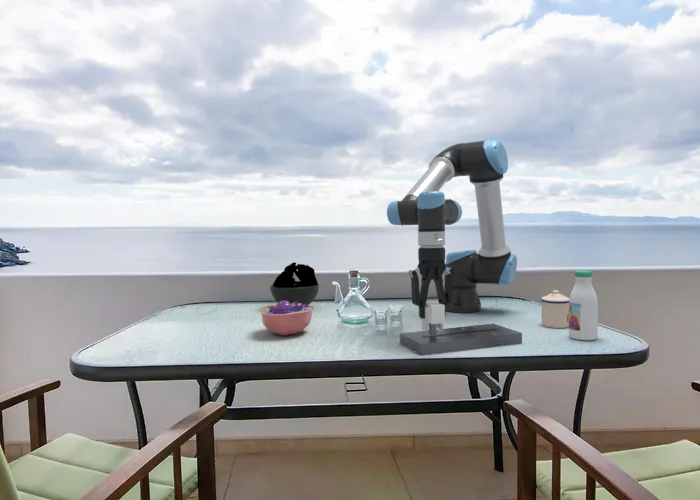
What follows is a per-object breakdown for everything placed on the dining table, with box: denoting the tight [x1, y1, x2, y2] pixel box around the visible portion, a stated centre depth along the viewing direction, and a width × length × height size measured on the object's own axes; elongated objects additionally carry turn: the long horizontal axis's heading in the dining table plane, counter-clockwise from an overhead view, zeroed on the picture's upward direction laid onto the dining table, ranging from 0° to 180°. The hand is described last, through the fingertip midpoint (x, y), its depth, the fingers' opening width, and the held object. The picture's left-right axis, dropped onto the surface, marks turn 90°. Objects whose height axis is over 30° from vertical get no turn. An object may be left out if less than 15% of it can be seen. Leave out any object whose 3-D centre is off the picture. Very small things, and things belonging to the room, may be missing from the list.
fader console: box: [399, 323, 523, 356], centre depth 147 cm, size 14×32×3 cm, turn 109°
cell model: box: [260, 301, 313, 336], centre depth 165 cm, size 17×20×11 cm
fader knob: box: [420, 301, 446, 335], centre depth 144 cm, size 7×4×9 cm, turn 19°
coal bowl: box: [269, 261, 320, 306], centre depth 209 cm, size 20×20×19 cm
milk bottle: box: [568, 269, 599, 341], centre depth 150 cm, size 8×8×20 cm
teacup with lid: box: [540, 289, 570, 329], centre depth 169 cm, size 12×9×12 cm
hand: (432, 328), depth 144 cm, fingers closed on fader knob, 4 cm apart
